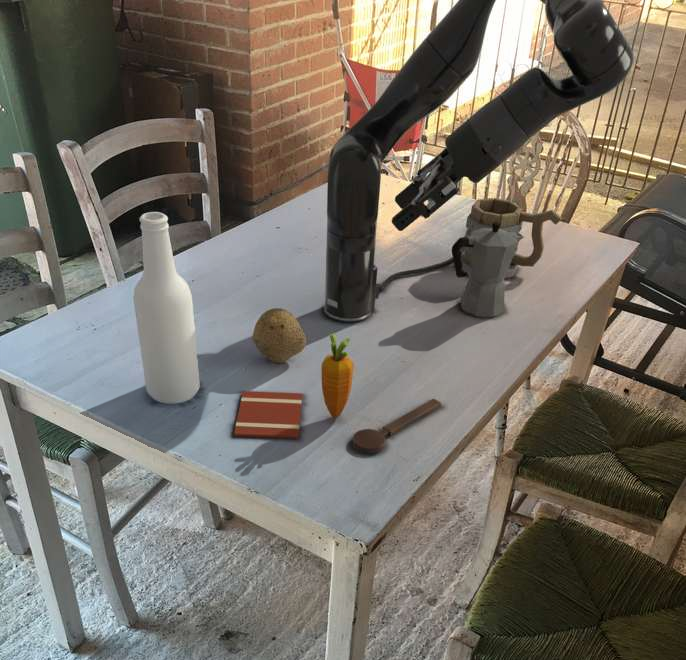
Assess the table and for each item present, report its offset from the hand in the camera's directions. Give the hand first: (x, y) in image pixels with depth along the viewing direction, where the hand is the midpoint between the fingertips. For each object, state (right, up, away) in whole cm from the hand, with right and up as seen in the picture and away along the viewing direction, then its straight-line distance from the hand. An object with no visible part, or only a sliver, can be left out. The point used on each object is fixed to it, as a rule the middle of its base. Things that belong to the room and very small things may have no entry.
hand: (396, 214), depth 112 cm
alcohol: (-36, -25, +16) cm, 47 cm away
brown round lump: (-20, -18, +25) cm, 37 cm away
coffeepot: (+20, -5, +44) cm, 49 cm away
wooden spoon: (+1, -31, +10) cm, 33 cm away
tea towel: (-20, -29, +12) cm, 37 cm away
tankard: (+28, +6, +59) cm, 65 cm away
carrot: (-9, -29, +12) cm, 33 cm away
